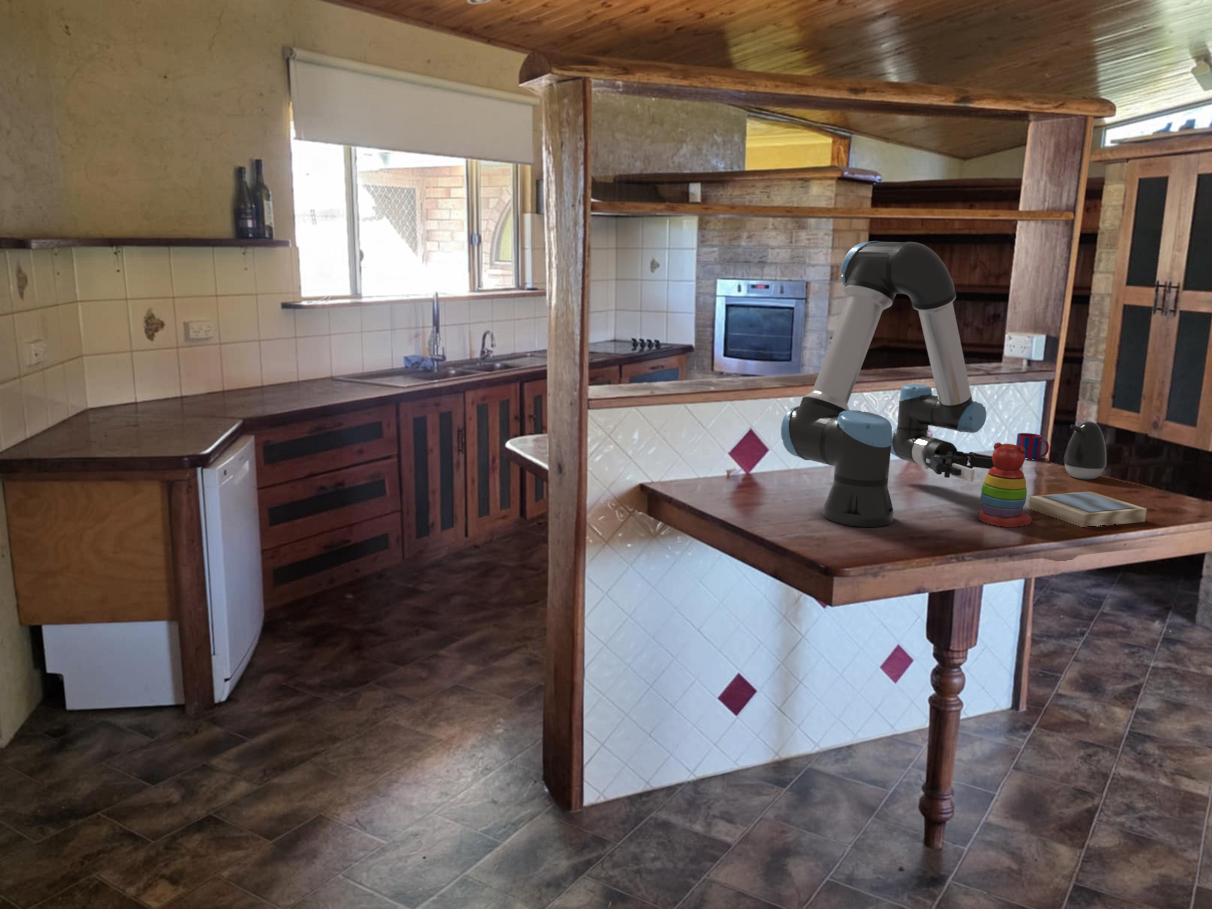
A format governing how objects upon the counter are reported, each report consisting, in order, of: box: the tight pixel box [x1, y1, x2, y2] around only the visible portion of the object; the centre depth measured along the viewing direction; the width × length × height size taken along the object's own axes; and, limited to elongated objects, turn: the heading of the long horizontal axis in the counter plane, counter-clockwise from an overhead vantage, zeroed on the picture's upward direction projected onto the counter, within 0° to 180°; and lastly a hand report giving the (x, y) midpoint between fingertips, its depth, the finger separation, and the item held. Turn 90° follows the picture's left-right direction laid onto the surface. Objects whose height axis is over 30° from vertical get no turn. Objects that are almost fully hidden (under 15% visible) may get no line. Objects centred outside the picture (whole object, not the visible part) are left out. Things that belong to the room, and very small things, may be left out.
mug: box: [1015, 432, 1050, 461], centre depth 278 cm, size 7×10×7 cm
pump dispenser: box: [1063, 421, 1107, 480], centre depth 256 cm, size 10×10×15 cm
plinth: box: [1028, 491, 1147, 528], centre depth 220 cm, size 18×16×3 cm
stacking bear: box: [978, 441, 1032, 528], centre depth 212 cm, size 11×10×18 cm
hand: (997, 474), depth 216 cm, fingers open, 13 cm apart
